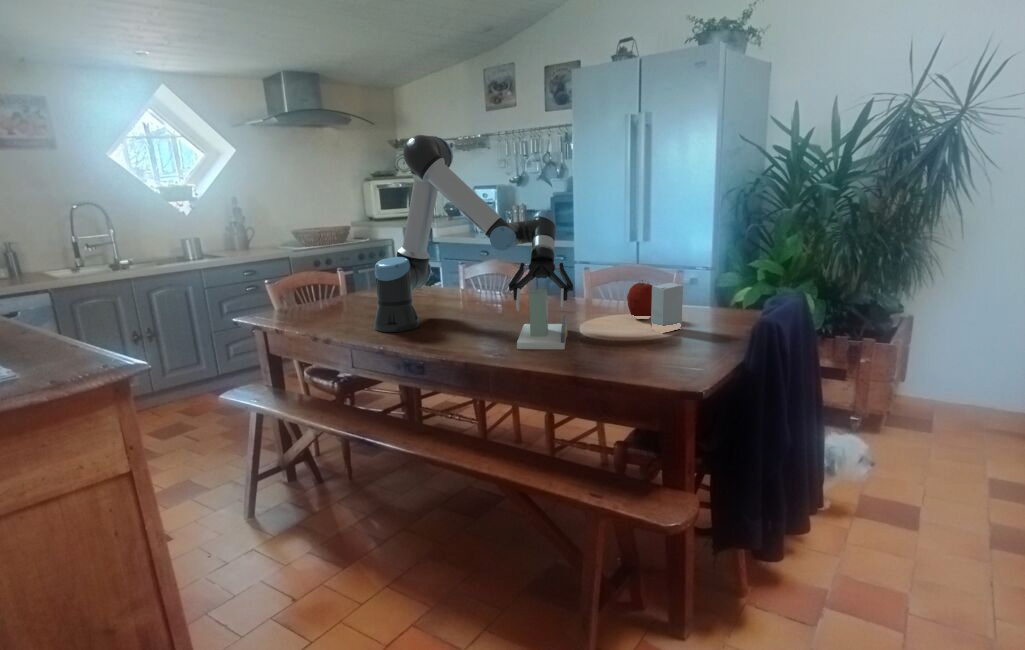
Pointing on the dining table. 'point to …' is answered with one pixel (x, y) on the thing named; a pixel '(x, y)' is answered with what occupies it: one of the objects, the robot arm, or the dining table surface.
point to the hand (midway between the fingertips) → (539, 308)
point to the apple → (640, 299)
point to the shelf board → (544, 337)
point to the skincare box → (667, 304)
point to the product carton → (538, 312)
